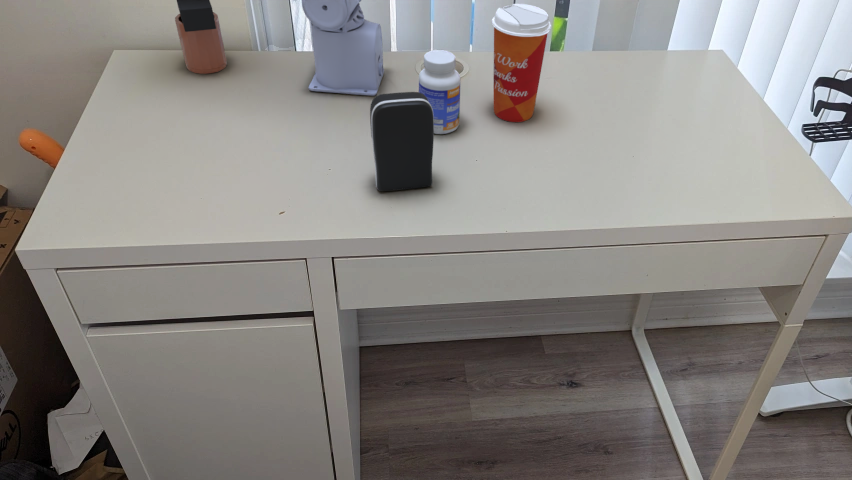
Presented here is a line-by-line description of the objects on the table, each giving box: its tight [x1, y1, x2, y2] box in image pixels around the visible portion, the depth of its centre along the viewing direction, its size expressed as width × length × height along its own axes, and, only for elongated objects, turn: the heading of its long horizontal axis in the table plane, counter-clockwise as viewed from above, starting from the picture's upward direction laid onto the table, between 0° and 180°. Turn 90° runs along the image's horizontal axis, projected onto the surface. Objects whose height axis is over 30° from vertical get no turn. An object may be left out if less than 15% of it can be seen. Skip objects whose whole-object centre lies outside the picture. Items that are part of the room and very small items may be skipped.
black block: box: [176, 0, 216, 32], centre depth 99 cm, size 9×4×3 cm, turn 24°
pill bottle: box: [418, 49, 461, 135], centre depth 94 cm, size 5×5×10 cm
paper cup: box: [491, 3, 552, 123], centre depth 97 cm, size 8×8×14 cm
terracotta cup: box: [174, 11, 228, 75], centre depth 103 cm, size 6×6×7 cm
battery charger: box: [369, 91, 435, 192], centre depth 83 cm, size 7×4×11 cm, turn 106°
